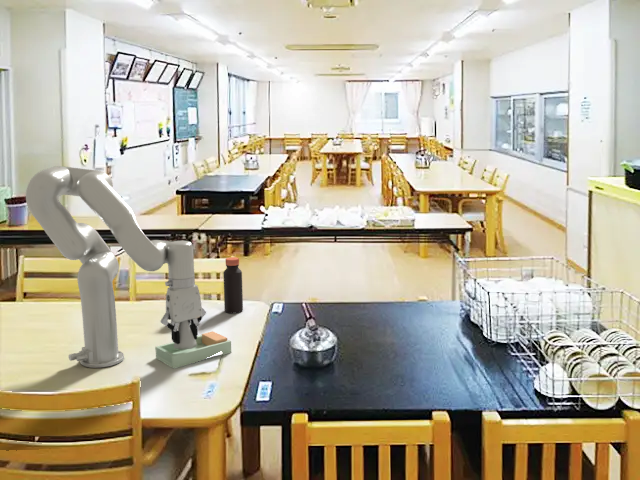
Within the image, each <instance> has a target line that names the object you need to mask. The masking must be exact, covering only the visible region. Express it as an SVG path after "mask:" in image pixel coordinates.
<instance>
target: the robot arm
mask: <svg viewBox="0 0 640 480" xmlns="http://www.w3.org/2000/svg"><path fill="white" fill-rule="evenodd" d="M113 186H114V183H113V180H112V178H111V177H110V176H109V174H107V173H106V172H105V171H101V170H96V169H89V168H88V169H87V168H78V167H71V166H64V165H62V166H61V165H58V166H56V165H55V166H51V167H48V168H45V169H42V170H40V171H38V172H36V173H35V174H34V175H33V176H32V177H31V179H30V180H29V182H28V184H27V187H26V190H25V202H26V205H27V208H28V210H29V211H30V213H31V214H32V216H33V218H34V219H35V220H36V222H37V223H38V224H39V225H40V227H42V229H43V230H44V232H45V234H46V235H47V237H49V239H50V240H51V241H52V243H53V244H54V245H55V247H56V248H57V250H58V251H59V253H61V255H62V256H63V257H64V258H66V259H68V260H71V261H78V260H79V261H80V263H81V266H80V267H79V270H78V273H77V285H78V291H79V296H80V303H81V304H80V305H81V306H80V307H81V314H82V328H83V340H84V346H82V347H81V350H79V351H78V352H75V353H69V354H68V359H69V361H70V362H72V361H75V360H76V362H79V363H80V364H81V365H82V366H83V367H86V368H91V369H92V368H95V369H97V368H101V369H102V368H107V367H111V366H115V365H117V364H120V363H122V362H123V361H124V360H125V354H124V352H122V351H120V350H119V343H118V342H119V341H118V340H119V338H118V324H117V311H116V299H115V292H114V285H113V281H114V279H115V278H116V276H118V273H119V269H120V263H119V261H118V259H117V257H116V255H115V254H114V252H113V251H112V250H111V249H110V247H109V245H107V243H106V241H104V239H103V237H102V236H101V235H100V234H99V232H98V231H97V230H96V228H94V227H93V226H92V225H89V224H87V223H84V222H77V221H76V219H74V217H73V216H72V215H71V213H70V212H69V210H68V209H67V208H66V207H65V206H64V204H62V203H61V202H60V200H59V197H61V196H63V195H64V196H74V197H80V198H81V200H82V201H83V202H84V203H85V204H86V205H87V206H88V207H89V208H90V209H91V210H92V212H94V213H95V215H96V216H97V217H98V218H99V219H100V220H101V221H102V223H104V225H106V227H107V228H108V229H109V230H110V232H111V234H112V236H113V237H114V238H115V240H116V241H117V243H118V244H119V246H120V247H121V249H122V250H123V251H124V252H125V253H126V254H127V256H129V258H130V259H132V261H133V262H134V263H135V264H136V265H137V266H139V268H141V269H142V270H143V271H146V272H156V271H158V270H160V269H161V268H162V266H163V265H165V264H167V267H168V268H167V269H168V270H167V271H168V280H167V281H165V282H164V284H165V287H167V289H166V296H165V297H166V298H165V313H164V315H163V316H162V318H161V320H160V323H161V324H162V325H163V326H165V327H167V328H168V330H170V332H171V333H170V334H171V341H172V342H174V343H176V344H179V343H180V336H179V331H178V329H179V323H180V322H183V321H188V320H190V322H189V323H190V324H189V326H190V328H191V331H192V333H193V336H194V339H197V336H199V334H198V331H199V330H198V327H199V325H200V322H201V321H202V319H203V318H204V316H205V315H206V314H207V311H206V310H205V309H204V308H203V307H202V299H201V294H200V293H201V292H200V289H199V285H197V284H196V282H195V279H196V278H195V261H194V258H195V257H194V246H193V243H192V242H191V241H189V240H174V241H170V240H169V241H168V240H159V239H152V240H150V239H149V237H147V235H146V234H145V233H144V232H143V230H142V229H141V227H140V226H139V224H138V222H137V218H136V216H135V212H134V210H133V208H132V207H131V206H130V205H129V204H128V203H127V202H126V201H125V200H124V199H123V198H122V196H121V195H120V194H119V193H118V192H117V191H116V190H115V189H114V188H113ZM169 321H170V322H169Z"/></svg>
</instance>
